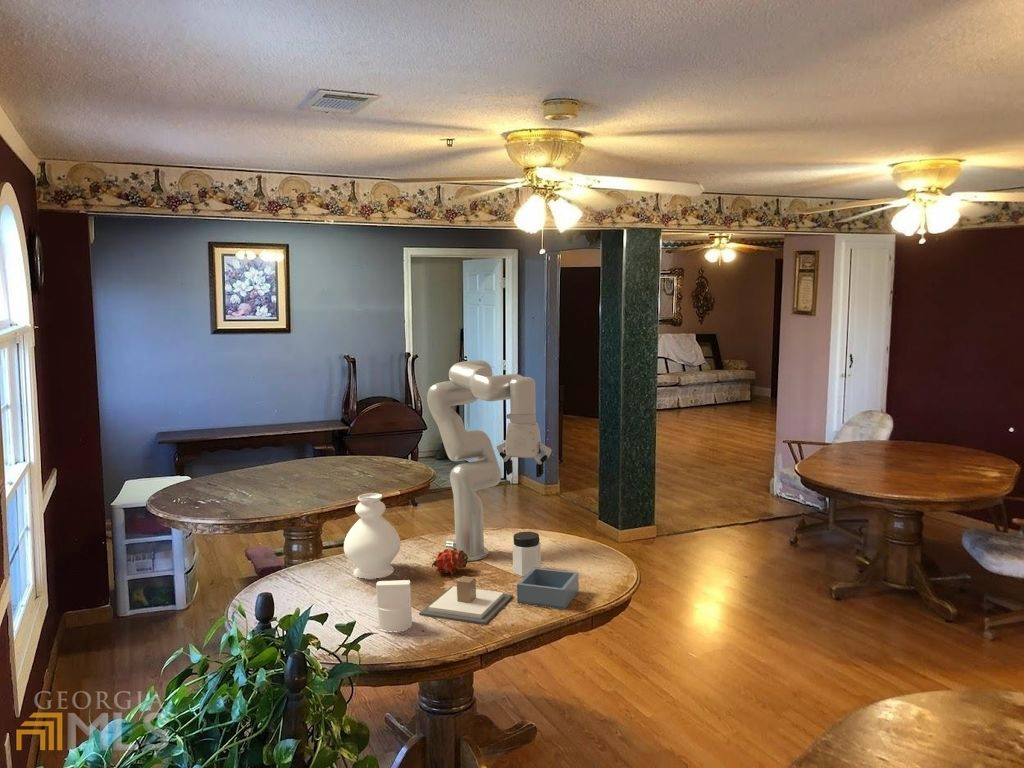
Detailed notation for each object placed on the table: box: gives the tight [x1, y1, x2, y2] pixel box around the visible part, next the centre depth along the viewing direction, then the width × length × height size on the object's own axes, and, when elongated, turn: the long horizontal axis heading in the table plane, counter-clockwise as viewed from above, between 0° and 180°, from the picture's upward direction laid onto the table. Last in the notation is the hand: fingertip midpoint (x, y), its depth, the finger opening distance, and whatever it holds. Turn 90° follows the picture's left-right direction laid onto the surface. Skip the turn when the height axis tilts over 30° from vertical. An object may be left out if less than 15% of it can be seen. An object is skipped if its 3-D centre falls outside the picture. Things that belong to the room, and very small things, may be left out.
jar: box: [511, 531, 542, 578], centre depth 248 cm, size 9×8×12 cm
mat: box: [418, 586, 514, 626], centre depth 224 cm, size 20×20×1 cm
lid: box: [429, 575, 505, 619], centre depth 223 cm, size 16×16×7 cm
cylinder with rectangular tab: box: [375, 579, 413, 633], centre depth 211 cm, size 9×9×12 cm
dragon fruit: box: [431, 547, 468, 576], centre depth 250 cm, size 8×8×12 cm
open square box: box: [516, 567, 580, 610], centre depth 228 cm, size 14×14×6 cm
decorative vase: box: [343, 492, 401, 580], centre depth 251 cm, size 18×18×25 cm
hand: (524, 475), depth 236 cm, fingers open, 9 cm apart
